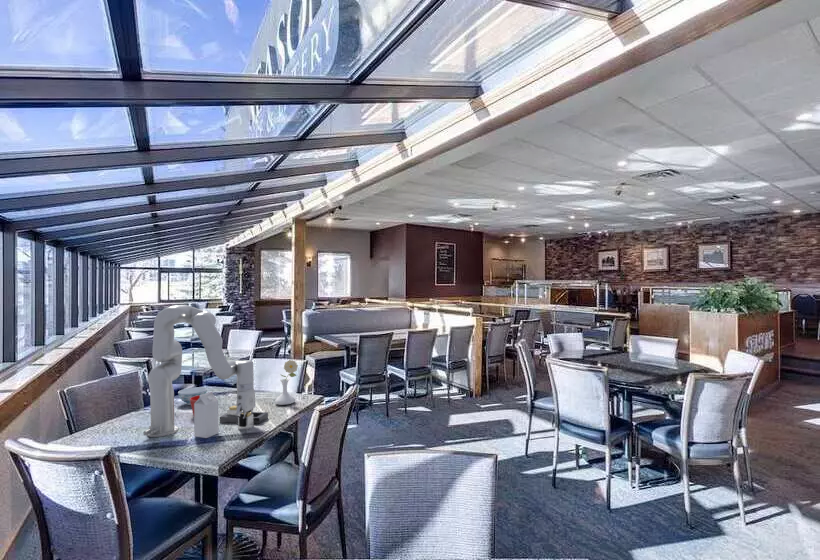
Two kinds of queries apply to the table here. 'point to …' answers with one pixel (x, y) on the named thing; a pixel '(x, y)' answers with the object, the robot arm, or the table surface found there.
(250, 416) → the grey and tan block
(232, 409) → the tan topped grey block
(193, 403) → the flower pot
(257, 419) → the dark grey slotted board
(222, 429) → the table surface
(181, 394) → the chinaware
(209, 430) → the milk carton
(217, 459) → the table surface
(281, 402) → the flower in vase
